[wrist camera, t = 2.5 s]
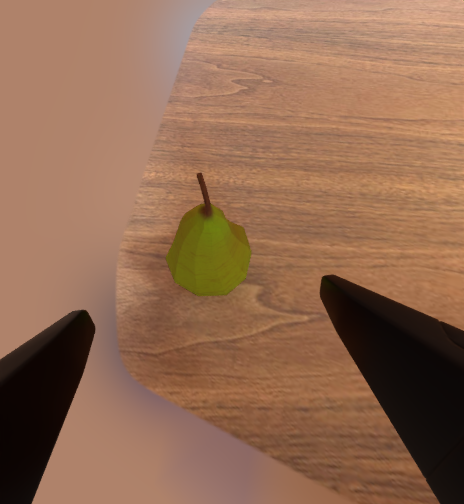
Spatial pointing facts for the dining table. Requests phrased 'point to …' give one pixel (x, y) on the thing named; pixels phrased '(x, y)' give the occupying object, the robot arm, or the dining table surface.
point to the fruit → (208, 250)
